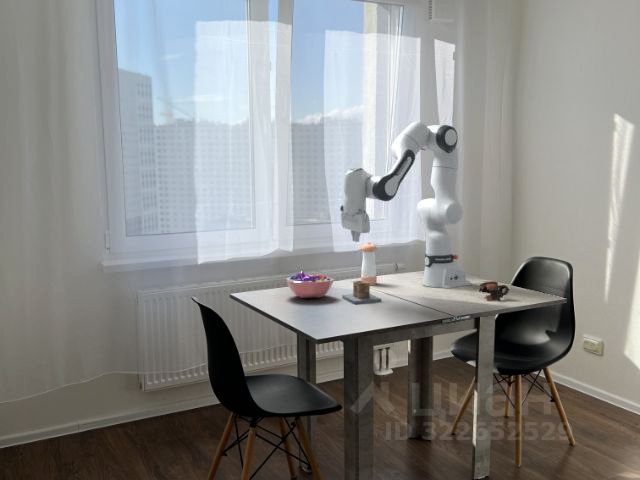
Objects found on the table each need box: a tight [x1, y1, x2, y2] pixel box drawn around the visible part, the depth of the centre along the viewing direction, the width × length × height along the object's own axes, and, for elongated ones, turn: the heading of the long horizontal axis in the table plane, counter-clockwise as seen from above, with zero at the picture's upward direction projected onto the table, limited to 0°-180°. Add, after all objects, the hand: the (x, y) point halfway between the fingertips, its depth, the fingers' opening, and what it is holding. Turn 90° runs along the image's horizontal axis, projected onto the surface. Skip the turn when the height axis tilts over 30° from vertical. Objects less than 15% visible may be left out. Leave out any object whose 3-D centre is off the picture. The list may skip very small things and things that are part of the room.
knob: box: [352, 280, 371, 299], centre depth 263 cm, size 5×5×7 cm
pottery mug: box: [478, 280, 510, 302], centre depth 265 cm, size 12×10×8 cm
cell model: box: [285, 270, 335, 299], centre depth 267 cm, size 17×20×11 cm
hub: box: [341, 293, 382, 305], centre depth 263 cm, size 12×12×6 cm
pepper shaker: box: [360, 242, 377, 286], centre depth 294 cm, size 7×7×19 cm
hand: (355, 241), depth 266 cm, fingers closed
